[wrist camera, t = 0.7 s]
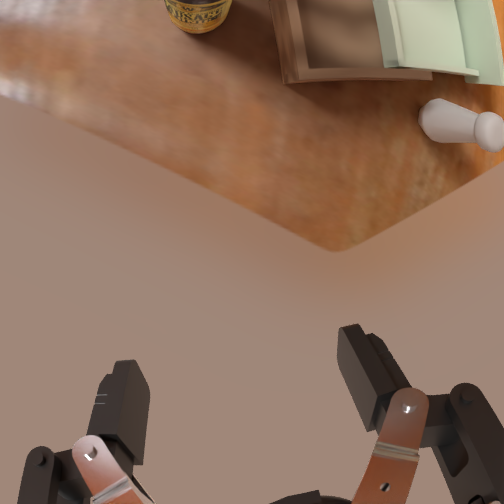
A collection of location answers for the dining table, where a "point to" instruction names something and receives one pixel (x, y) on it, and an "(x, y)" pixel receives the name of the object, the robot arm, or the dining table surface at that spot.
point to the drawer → (441, 38)
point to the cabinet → (331, 42)
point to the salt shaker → (461, 125)
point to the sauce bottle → (197, 14)
